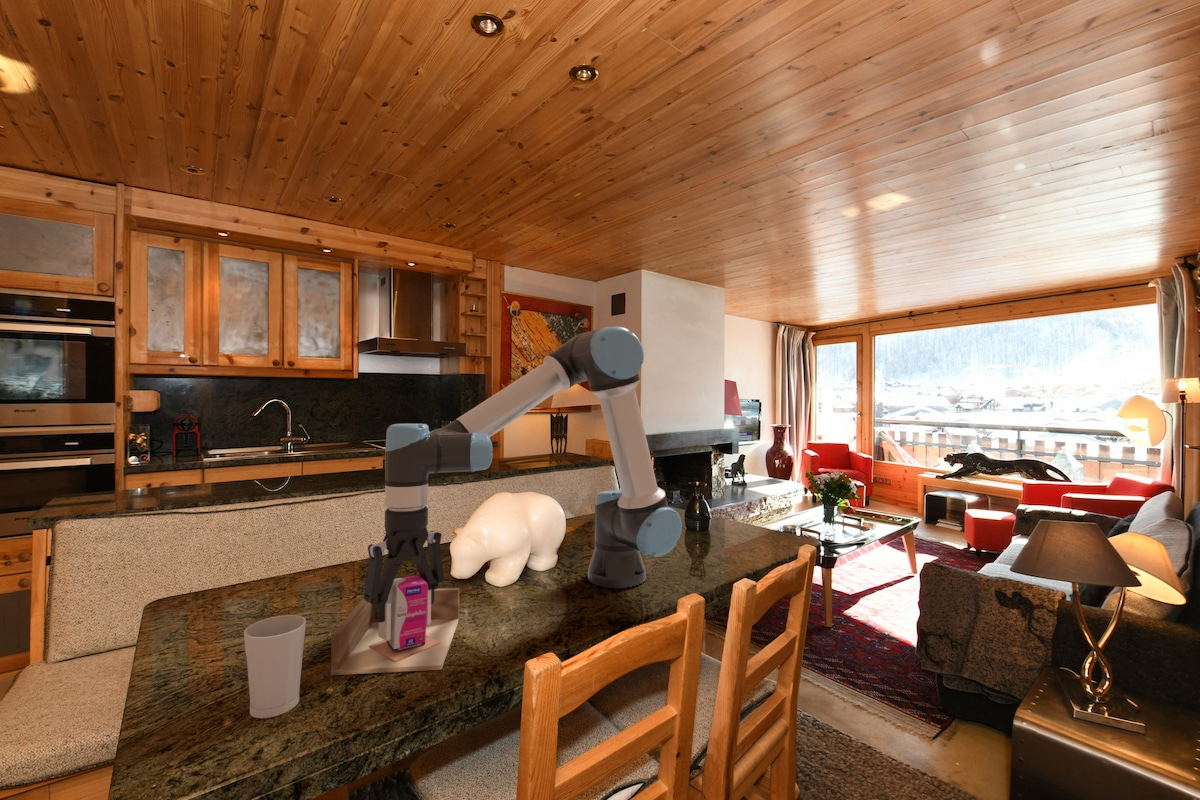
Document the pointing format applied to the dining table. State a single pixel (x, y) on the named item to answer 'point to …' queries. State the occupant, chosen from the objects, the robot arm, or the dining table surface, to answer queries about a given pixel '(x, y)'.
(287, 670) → the cup
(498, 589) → the dining table surface
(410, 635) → the supplement box
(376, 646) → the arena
